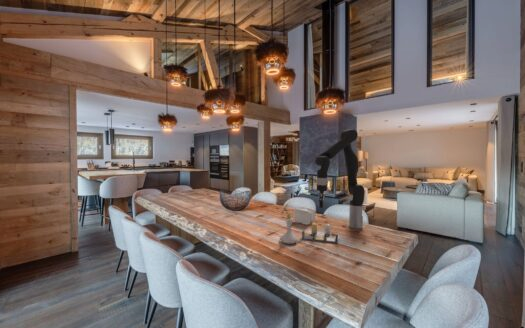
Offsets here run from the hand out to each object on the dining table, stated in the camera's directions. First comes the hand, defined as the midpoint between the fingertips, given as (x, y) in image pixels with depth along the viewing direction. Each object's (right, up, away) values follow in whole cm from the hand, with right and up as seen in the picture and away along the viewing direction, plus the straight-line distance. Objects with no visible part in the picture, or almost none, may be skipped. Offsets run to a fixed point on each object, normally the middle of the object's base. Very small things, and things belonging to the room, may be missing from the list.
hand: (321, 206), depth 164 cm
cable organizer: (-8, -18, +23) cm, 30 cm away
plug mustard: (-6, -19, -4) cm, 20 cm away
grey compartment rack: (-5, -19, -15) cm, 25 cm away
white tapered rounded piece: (-26, -19, -20) cm, 38 cm away
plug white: (+3, -19, -5) cm, 20 cm away
